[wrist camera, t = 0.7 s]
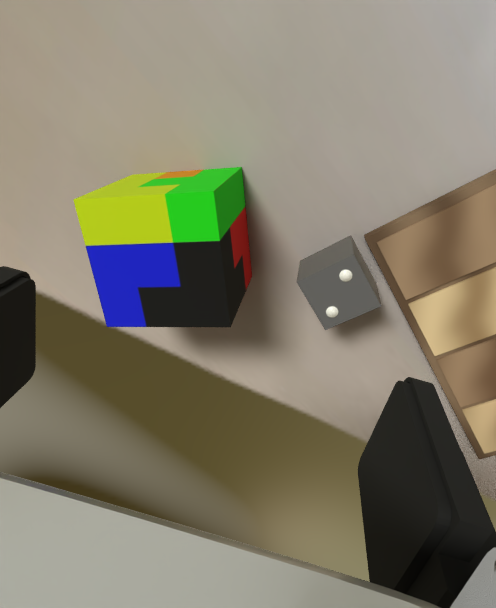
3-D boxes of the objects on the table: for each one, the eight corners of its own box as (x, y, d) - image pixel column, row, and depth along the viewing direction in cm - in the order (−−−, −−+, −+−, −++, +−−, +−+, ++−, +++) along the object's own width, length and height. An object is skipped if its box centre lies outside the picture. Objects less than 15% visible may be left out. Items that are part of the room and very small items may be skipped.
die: (350, 235, 37) (353, 254, 33) (375, 281, 39) (381, 306, 34) (300, 260, 39) (296, 282, 35) (325, 304, 41) (325, 330, 36)
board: (497, 168, 33) (502, 171, 32) (594, 419, 41) (601, 428, 40) (363, 234, 37) (365, 239, 36) (476, 452, 45) (479, 460, 44)
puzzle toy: (153, 277, 43) (107, 326, 34) (132, 174, 38) (73, 199, 29) (251, 276, 41) (230, 327, 32) (241, 166, 36) (213, 191, 27)
